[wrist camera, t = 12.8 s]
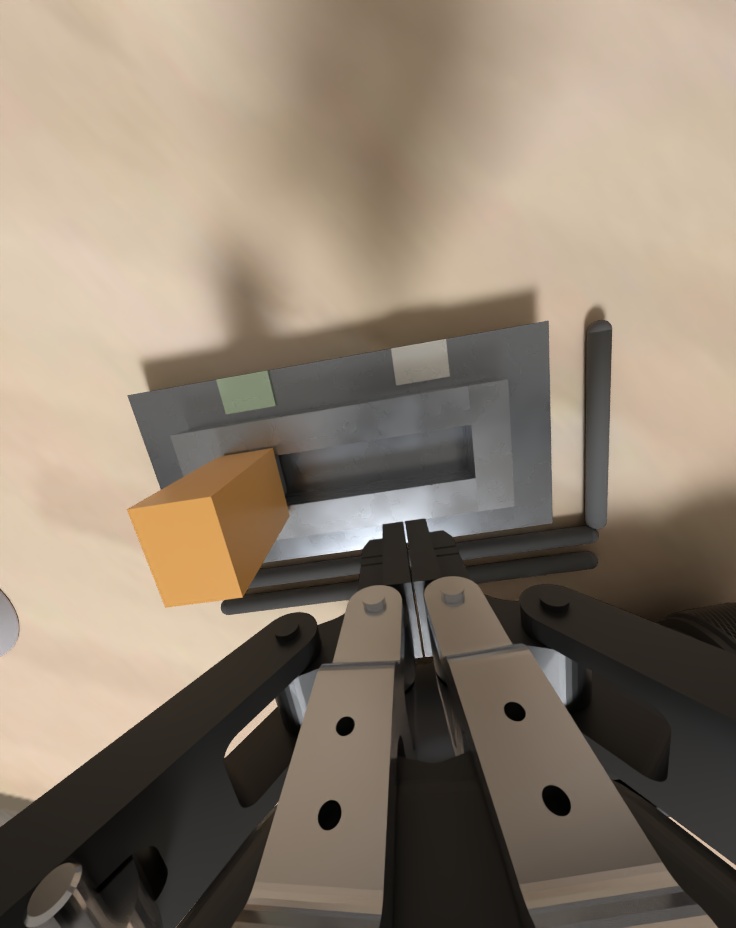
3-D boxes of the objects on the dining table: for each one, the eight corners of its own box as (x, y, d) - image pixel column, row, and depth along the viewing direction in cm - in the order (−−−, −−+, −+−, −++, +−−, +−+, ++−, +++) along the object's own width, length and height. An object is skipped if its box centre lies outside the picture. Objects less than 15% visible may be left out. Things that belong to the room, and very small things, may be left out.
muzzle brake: (354, 633, 27) (340, 791, 17) (732, 559, 24) (982, 694, 14) (383, 721, 29) (386, 904, 19) (729, 663, 27) (939, 839, 17)
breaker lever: (283, 439, 20) (211, 496, 11) (298, 501, 21) (242, 597, 12) (234, 447, 20) (126, 509, 12) (251, 508, 21) (165, 607, 13)
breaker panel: (531, 325, 20) (569, 315, 16) (537, 510, 23) (569, 538, 19) (149, 392, 22) (100, 398, 18) (204, 556, 25) (173, 591, 21)
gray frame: (603, 319, 20) (617, 316, 19) (598, 560, 24) (609, 570, 23) (157, 397, 22) (145, 399, 21) (227, 608, 26) (220, 619, 25)
